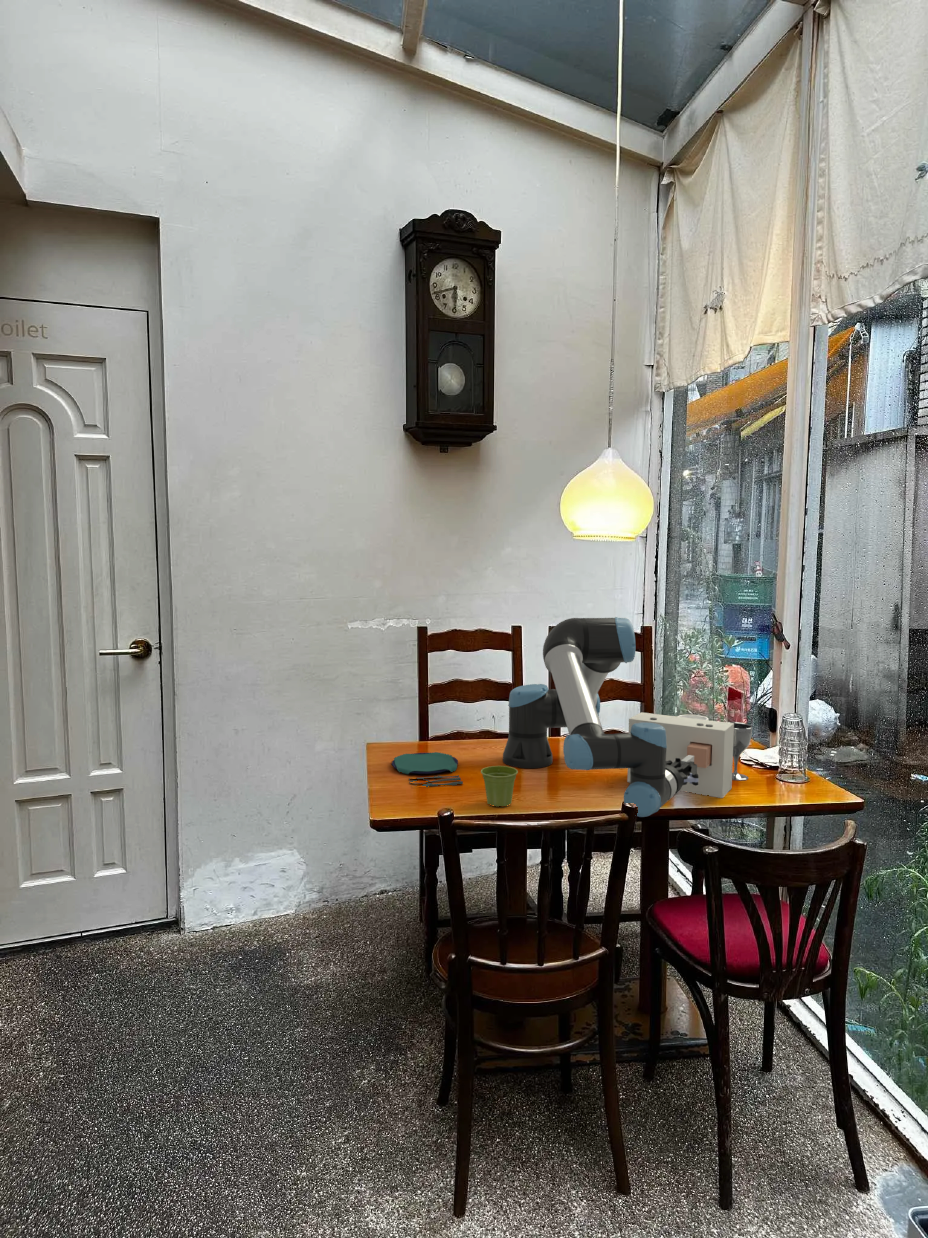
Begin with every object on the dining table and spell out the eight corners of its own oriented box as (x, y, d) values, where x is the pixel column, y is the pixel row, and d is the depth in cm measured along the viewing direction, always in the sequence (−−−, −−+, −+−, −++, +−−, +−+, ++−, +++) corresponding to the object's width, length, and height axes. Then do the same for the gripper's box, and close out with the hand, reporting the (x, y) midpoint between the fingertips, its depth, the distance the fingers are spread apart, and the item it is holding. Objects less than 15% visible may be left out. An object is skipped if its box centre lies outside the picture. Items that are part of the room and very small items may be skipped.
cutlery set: (452, 757, 244) (452, 749, 243) (470, 787, 214) (470, 779, 214) (389, 760, 240) (388, 753, 240) (398, 792, 211) (398, 784, 211)
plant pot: (496, 812, 192) (496, 778, 192) (473, 802, 200) (473, 769, 199) (525, 805, 198) (525, 772, 197) (501, 795, 206) (502, 763, 205)
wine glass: (715, 776, 224) (717, 724, 222) (730, 771, 229) (732, 721, 228) (740, 782, 218) (742, 730, 216) (755, 777, 223) (757, 725, 221)
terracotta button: (705, 768, 202) (706, 749, 201) (686, 765, 205) (687, 746, 204) (711, 762, 207) (712, 744, 206) (693, 760, 210) (693, 741, 209)
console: (722, 798, 204) (724, 729, 202) (627, 782, 218) (628, 717, 216) (731, 788, 213) (734, 722, 211) (639, 773, 226) (641, 711, 225)
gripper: (633, 794, 183) (665, 771, 203) (689, 804, 176) (716, 779, 196) (634, 763, 182) (666, 742, 202) (690, 772, 175) (717, 749, 195)
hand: (691, 760), depth 199 cm, fingers closed
